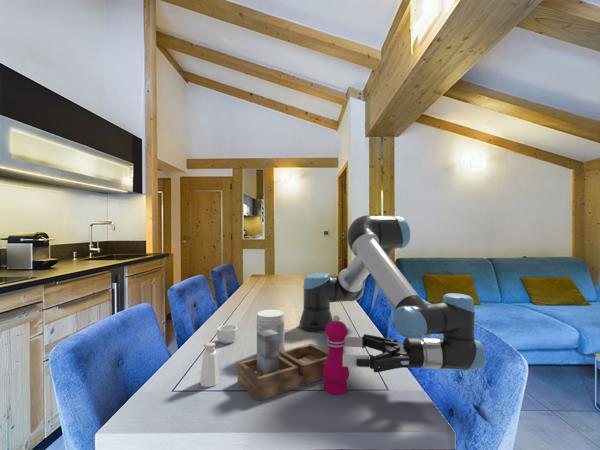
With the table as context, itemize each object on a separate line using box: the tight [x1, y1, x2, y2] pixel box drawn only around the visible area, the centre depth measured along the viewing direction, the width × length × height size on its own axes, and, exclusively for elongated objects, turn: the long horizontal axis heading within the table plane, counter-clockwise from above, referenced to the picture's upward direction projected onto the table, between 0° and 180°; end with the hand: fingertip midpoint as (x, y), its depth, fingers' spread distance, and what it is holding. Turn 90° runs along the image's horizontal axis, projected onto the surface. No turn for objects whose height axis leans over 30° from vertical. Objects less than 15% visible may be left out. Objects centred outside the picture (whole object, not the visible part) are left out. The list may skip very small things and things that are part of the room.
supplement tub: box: [256, 309, 286, 352], centre depth 112 cm, size 10×10×15 cm
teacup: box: [216, 324, 238, 345], centre depth 126 cm, size 10×8×5 cm
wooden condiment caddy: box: [237, 329, 329, 402], centre depth 96 cm, size 30×12×14 cm, turn 126°
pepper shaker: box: [199, 341, 220, 388], centre depth 92 cm, size 5×5×11 cm
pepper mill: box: [323, 315, 350, 395], centre depth 89 cm, size 7×7×20 cm
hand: (340, 350), depth 88 cm, fingers open, 13 cm apart
